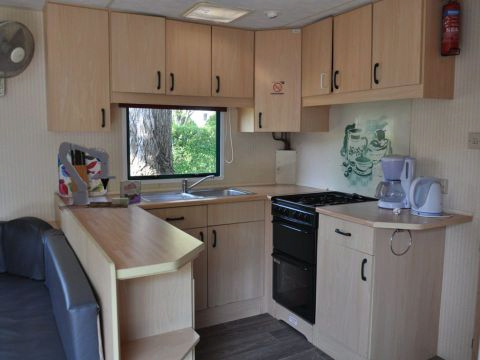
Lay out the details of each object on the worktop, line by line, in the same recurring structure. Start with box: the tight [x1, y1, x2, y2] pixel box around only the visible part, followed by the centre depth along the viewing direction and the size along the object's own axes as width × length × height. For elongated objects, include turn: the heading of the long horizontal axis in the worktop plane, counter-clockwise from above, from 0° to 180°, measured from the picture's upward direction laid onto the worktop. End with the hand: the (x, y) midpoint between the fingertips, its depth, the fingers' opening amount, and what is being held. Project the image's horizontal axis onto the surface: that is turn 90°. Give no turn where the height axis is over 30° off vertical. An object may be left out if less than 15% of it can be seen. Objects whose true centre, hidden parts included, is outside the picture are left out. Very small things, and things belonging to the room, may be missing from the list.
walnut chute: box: [86, 201, 130, 208], centre depth 282 cm, size 25×13×3 cm, turn 100°
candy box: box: [119, 179, 142, 203], centre depth 301 cm, size 14×6×16 cm, turn 105°
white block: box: [111, 197, 120, 204], centre depth 282 cm, size 5×6×5 cm
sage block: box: [119, 197, 128, 204], centre depth 283 cm, size 5×6×5 cm
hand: (105, 189), depth 294 cm, fingers closed
